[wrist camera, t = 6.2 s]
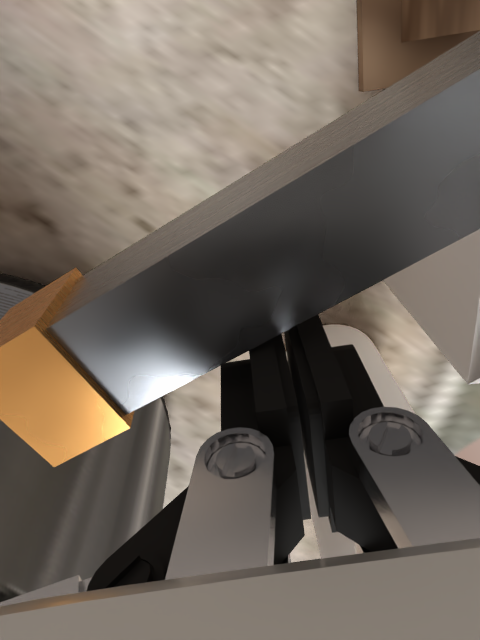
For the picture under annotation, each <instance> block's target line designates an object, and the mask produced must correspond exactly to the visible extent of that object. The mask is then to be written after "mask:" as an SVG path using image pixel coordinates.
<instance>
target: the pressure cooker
mask: <svg viewBox="0 0 480 640" xmlns="http://www.w3.org/2000/svg"><path fill="white" fill-rule="evenodd" d="M44 287H45V285H41V284H39V283H35V282H32V281H29V280H24V279H22V278H18V277H14V276H11V275H6V274H0V320H1V318H2V317H3V316H4V315H5V314H6V313H7V312H8V310H9V309H10V308H12V307H13V306H15V305H16V304H18V303H20V302H21V301H23V300H24V299H26V298H28V297H29V296H31V295H32V294H34V293H36V292H37V291H39V290H41V289H42V288H44ZM170 431H171V427H170V423H169V417H168V412H167V409H166V406H165V401H164V399H163V396H161V397H159V398H158V399H156V400H154V401H152V402H150V403H148V404H146V405H144V406H142V407H140V408H139V409H137V410H135V411H134V415H133V419H132V424H131V428H129V429H127V430H125V431H124V432H122V433H120V434H118V435H116V436H114V437H112V438H110V439H108V440H106V441H104V442H102V443H100V444H98V445H96V446H95V447H93V448H91V449H89V450H87V451H85V452H83V453H81V454H79V455H77V456H75V457H73V458H71V459H69V460H67V461H66V462H64V463H62V464H60V465H58V466H56V467H53V466H52V465H51V464H50V463H49V462H48V461H46V460H45V459H44V458H43V457H42V456H41V455H40V454H39V453H37V452H36V451H35V450H34V449H33V448H32V447H31V446H30V445H28V444H27V443H26V442H25V441H24V440H23V439H22V438H21V437H19V436H18V435H17V434H16V433H15V432H14V431H13V430H12V429H10V428H9V427H8V426H7V425H6V424H5V423H4V422H3V421H1V420H0V602H3V601H6V600H9V599H12V598H14V597H17V596H20V595H23V594H26V593H28V592H31V591H34V590H37V589H40V588H43V587H45V586H48V585H51V584H54V583H57V582H60V581H62V580H65V579H68V578H71V577H74V576H77V575H79V576H80V578H81V580H85V579H88V578H91V577H93V575H94V573H95V572H96V570H97V569H98V568H99V567H100V566H101V565H102V564H103V563H104V561H105V560H106V559H107V558H109V557H110V556H111V555H112V554H113V553H114V552H115V551H116V550H118V549H119V548H120V547H121V546H122V545H123V544H124V543H125V542H127V541H128V540H129V539H130V538H131V537H132V536H133V535H134V534H136V533H137V532H138V531H139V530H140V529H141V528H142V527H143V526H145V525H146V524H147V523H148V522H149V521H150V520H151V519H152V518H153V517H155V516H156V515H157V514H158V513H159V512H160V511H161V510H162V509H163V503H164V495H165V488H166V480H167V473H168V465H169V458H170V446H171V443H170V439H171V434H170Z"/></svg>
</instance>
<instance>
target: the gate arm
mask: <svg viewBox="0 0 480 640" xmlns="http://www.w3.org/2000/svg"><path fill="white" fill-rule="evenodd" d="M479 229H480V31H479V32H477V33H476V34H474V35H472V36H471V37H469V38H468V39H466V40H464V41H463V42H461V43H459V44H458V45H456V46H455V47H453V48H451V49H450V50H448V51H446V52H445V53H443V54H442V55H440V56H438V57H437V58H435V59H433V60H432V61H430V62H429V63H427V64H425V65H424V66H422V67H420V68H419V69H417V70H416V71H414V72H412V73H411V74H409V75H407V76H406V77H404V78H403V79H401V80H399V81H398V82H396V83H394V84H393V85H391V86H390V87H388V88H386V89H385V90H383V91H381V92H380V93H378V94H377V95H375V96H373V97H372V98H370V99H369V100H367V101H365V102H364V103H362V104H360V105H359V106H357V107H356V108H354V109H352V110H351V111H349V112H347V113H346V114H344V115H343V116H341V117H339V118H338V119H336V120H334V121H333V122H331V123H330V124H328V125H326V126H325V127H323V128H321V129H320V130H318V131H317V132H315V133H313V134H312V135H310V136H308V137H307V138H305V139H304V140H302V141H300V142H299V143H297V144H295V145H294V146H292V147H291V148H289V149H287V150H286V151H284V152H282V153H281V154H279V155H278V156H276V157H274V158H273V159H271V160H269V161H268V162H266V163H265V164H263V165H261V166H260V167H258V168H257V169H255V170H253V171H252V172H250V173H248V174H247V175H245V176H244V177H242V178H240V179H239V180H237V181H235V182H234V183H232V184H231V185H229V186H227V187H226V188H224V189H222V190H221V191H219V192H218V193H216V194H214V195H213V196H211V197H209V198H208V199H206V200H205V201H203V202H201V203H200V204H198V205H196V206H195V207H193V208H192V209H190V210H188V211H187V212H185V213H183V214H182V215H180V216H179V217H177V218H175V219H174V220H172V221H170V222H169V223H167V224H166V225H164V226H162V227H161V228H159V229H158V230H156V231H154V232H153V233H151V234H149V235H148V236H146V237H145V238H143V239H141V240H140V241H138V242H136V243H135V244H133V245H132V246H130V247H128V248H127V249H125V250H123V251H122V252H120V253H119V254H117V255H115V256H114V257H112V258H110V259H109V260H107V261H106V262H104V263H102V264H101V265H99V266H97V267H96V268H94V269H93V270H91V271H89V272H88V273H86V274H84V275H82V274H81V273H80V272H79V271H78V269H77V268H74V269H73V270H71V271H69V272H68V273H66V274H65V275H63V276H61V277H60V278H58V279H57V280H55V281H53V282H52V283H50V284H49V285H47V286H45V287H44V288H42V289H41V290H39V291H37V292H36V293H34V294H32V295H31V296H29V297H28V298H26V299H24V300H23V301H21V302H20V303H18V304H16V305H15V306H13V307H12V308H10V309H9V310H8V312H7V313H6V314H5V315H4V316H3V317H2V318H1V320H0V420H1V421H3V422H4V423H5V424H6V425H7V426H8V427H9V428H10V429H12V430H13V431H14V432H15V433H16V434H17V435H18V436H19V437H21V438H22V439H23V440H24V441H25V442H26V443H27V444H28V445H30V446H31V447H32V448H33V449H34V450H35V451H36V452H37V453H39V454H40V455H41V456H42V457H43V458H44V459H45V460H46V461H48V462H49V463H50V464H51V465H52V466H53V467H56V466H58V465H60V464H62V463H64V462H66V461H67V460H69V459H71V458H73V457H75V456H77V455H79V454H81V453H83V452H85V451H87V450H89V449H91V448H93V447H95V446H96V445H98V444H100V443H102V442H104V441H106V440H108V439H110V438H112V437H114V436H116V435H118V434H120V433H122V432H124V431H125V430H127V429H129V428H131V424H132V419H133V415H134V411H135V410H137V409H139V408H140V407H142V406H144V405H146V404H148V403H150V402H152V401H154V400H156V399H158V398H159V397H161V396H163V395H165V394H167V393H169V392H171V391H173V390H175V389H177V388H178V387H180V386H182V385H184V384H186V383H188V382H190V381H192V380H194V379H196V378H197V377H199V376H201V375H203V374H205V373H207V372H209V371H211V370H213V369H215V368H217V367H218V366H220V365H222V364H224V363H226V362H228V361H230V360H232V359H234V358H236V357H237V356H239V355H241V354H243V353H245V352H247V351H249V350H251V349H253V348H255V347H256V346H258V345H260V344H262V343H264V342H266V341H268V340H270V339H272V338H274V337H275V336H277V335H279V334H281V333H283V332H285V331H287V330H289V329H291V328H293V327H295V326H296V325H298V324H300V323H302V322H304V321H306V320H308V319H310V318H312V317H314V316H315V315H317V314H319V313H321V312H323V311H325V310H327V309H329V308H331V307H333V306H334V305H336V304H338V303H340V302H342V301H344V300H346V299H348V298H350V297H352V296H353V295H355V294H357V293H359V292H361V291H363V290H365V289H367V288H369V287H371V286H373V285H374V284H376V283H378V282H380V281H382V280H384V279H386V278H388V277H390V276H392V275H393V274H395V273H397V272H399V271H401V270H403V269H405V268H407V267H409V266H411V265H412V264H414V263H416V262H418V261H420V260H422V259H424V258H426V257H428V256H430V255H431V254H433V253H435V252H437V251H439V250H441V249H443V248H445V247H447V246H449V245H451V244H452V243H454V242H456V241H458V240H460V239H462V238H464V237H466V236H468V235H470V234H471V233H473V232H475V231H477V230H479Z"/></svg>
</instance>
